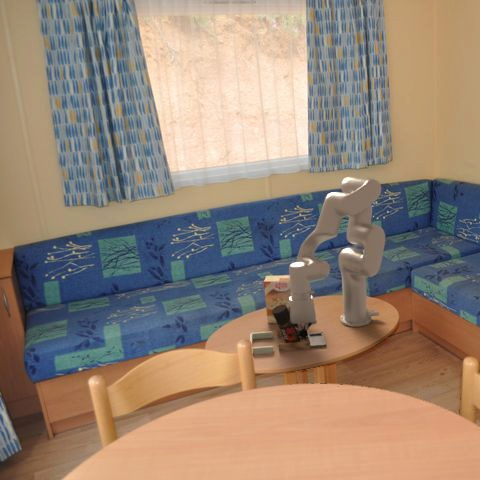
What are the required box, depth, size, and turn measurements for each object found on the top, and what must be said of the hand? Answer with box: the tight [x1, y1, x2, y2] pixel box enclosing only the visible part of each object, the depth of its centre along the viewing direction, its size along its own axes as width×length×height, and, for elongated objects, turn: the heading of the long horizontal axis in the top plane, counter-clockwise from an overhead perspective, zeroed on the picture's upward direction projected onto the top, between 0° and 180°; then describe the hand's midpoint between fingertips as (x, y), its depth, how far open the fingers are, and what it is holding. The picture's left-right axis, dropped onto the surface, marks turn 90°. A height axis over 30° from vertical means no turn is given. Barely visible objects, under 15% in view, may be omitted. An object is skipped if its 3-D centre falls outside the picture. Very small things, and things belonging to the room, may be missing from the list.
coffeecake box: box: [263, 274, 291, 324], centre depth 199 cm, size 15×7×20 cm, turn 77°
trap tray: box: [307, 331, 327, 349], centre depth 180 cm, size 6×10×1 cm, turn 177°
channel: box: [276, 328, 312, 352], centre depth 181 cm, size 12×12×3 cm
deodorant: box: [272, 305, 301, 343], centre depth 179 cm, size 6×6×15 cm
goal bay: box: [249, 330, 275, 355], centre depth 182 cm, size 9×13×2 cm
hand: (303, 337), depth 180 cm, fingers closed
